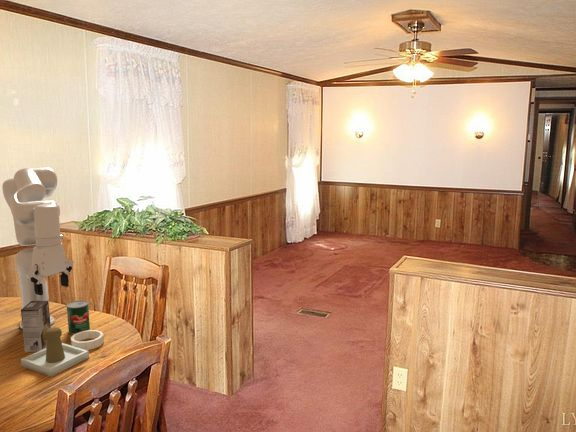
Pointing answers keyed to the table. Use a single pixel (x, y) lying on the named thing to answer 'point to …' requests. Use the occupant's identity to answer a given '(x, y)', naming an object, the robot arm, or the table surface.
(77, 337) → the collar
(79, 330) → the canned tomato
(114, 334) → the table surface
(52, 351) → the cork
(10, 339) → the table surface
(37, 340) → the coffee box
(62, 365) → the tray
